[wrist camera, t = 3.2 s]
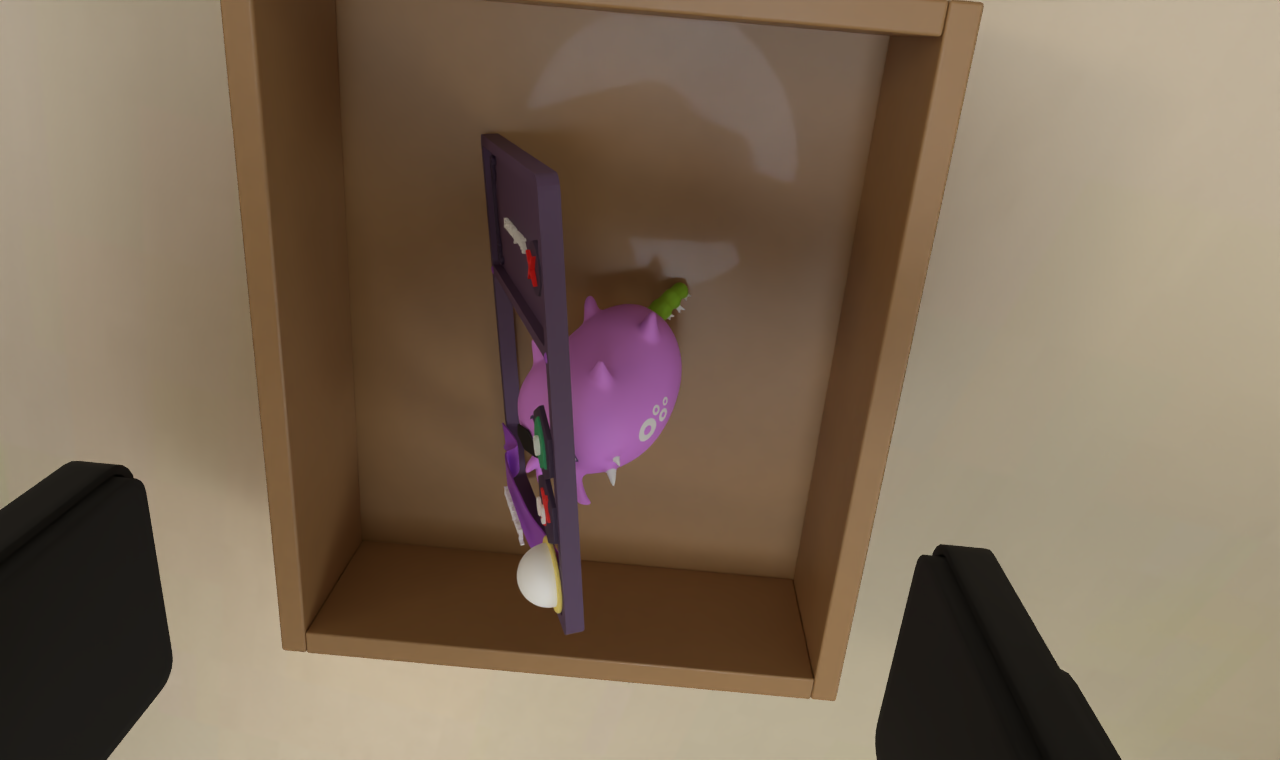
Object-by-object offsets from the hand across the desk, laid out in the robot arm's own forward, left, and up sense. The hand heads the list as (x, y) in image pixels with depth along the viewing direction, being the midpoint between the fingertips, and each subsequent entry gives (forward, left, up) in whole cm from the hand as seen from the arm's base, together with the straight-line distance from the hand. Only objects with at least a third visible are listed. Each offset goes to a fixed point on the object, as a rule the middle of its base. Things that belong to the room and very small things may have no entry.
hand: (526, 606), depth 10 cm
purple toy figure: (0, 0, -12) cm, 12 cm away
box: (0, 0, -12) cm, 12 cm away
